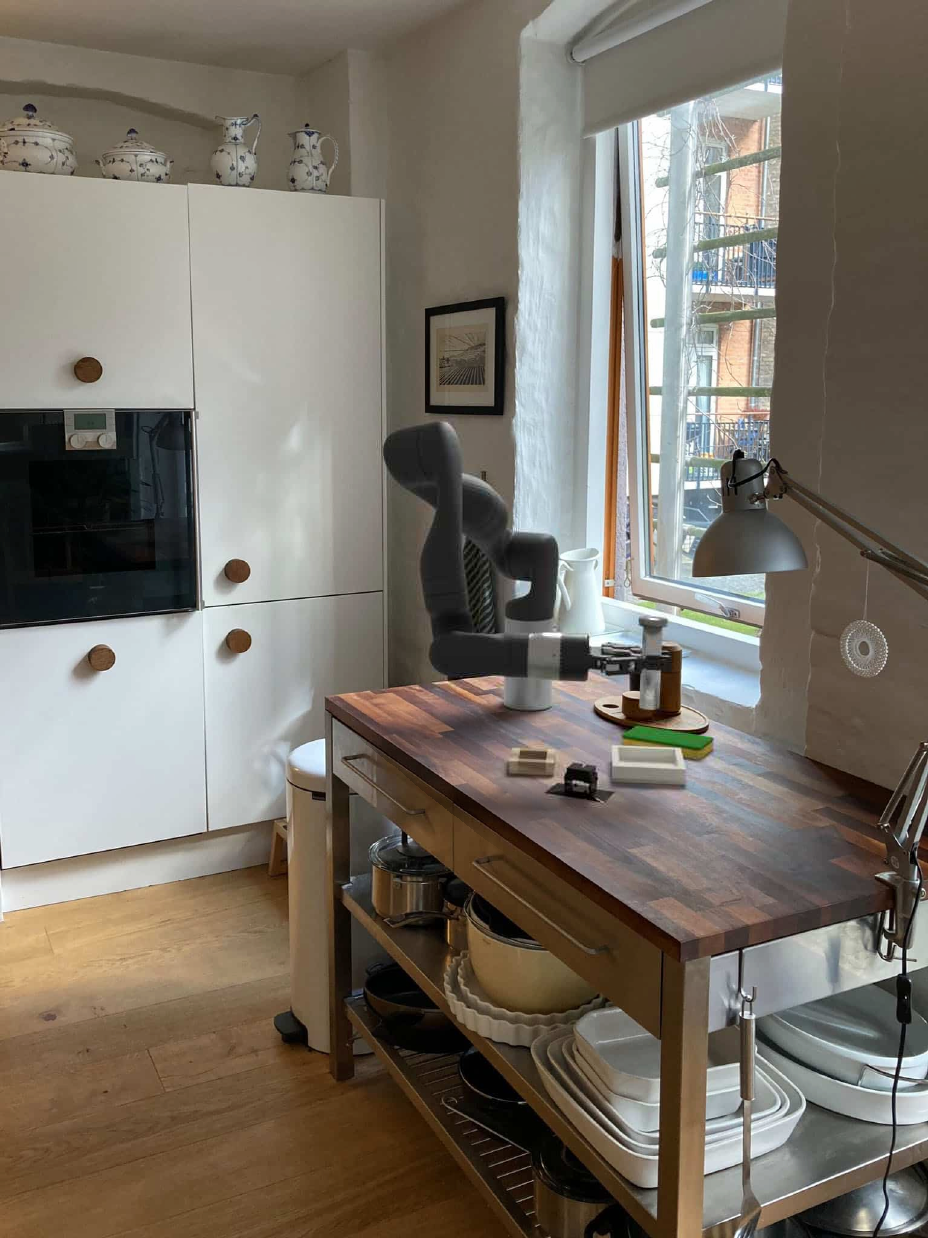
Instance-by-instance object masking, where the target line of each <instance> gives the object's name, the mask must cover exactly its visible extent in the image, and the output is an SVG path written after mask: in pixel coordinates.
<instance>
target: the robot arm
mask: <svg viewBox="0 0 928 1238" xmlns="http://www.w3.org/2000/svg"><path fill="white" fill-rule="evenodd" d="M382 456H383V460H384V463H385V466H386V468H387V470H388V472H389V474H390V475H391V477H392V478H393V479H394V480H395V481H396V483H397V484H399V485H400V486H401V487H402V488H404V489H405V490H407V491H409V492H410V493H411V494H413V495H415V496H416V497H418V498H420V499H421V500H423V501H424V502H425V503H427V504H428V505H429V506H431V507H432V508H433V509H434V510H435V514H434V516H433V519H432V520H433V521H432V523H431V526H430V528H429V531H428V534H427V536H426V539H425V542H424V544H423V548H422V549H421V554H420V561H419V571H420V572H419V576H420V581H421V589H422V596H423V602H424V606H425V609H426V613H427V614H428V616H429V618H430V620H429V621H430V625H431V627H430V628H431V633H432V641H431V643H430V646H429V649H428V659H429V662H430V665H431V666H432V667H433V669H434V670H435V671H437V673H440V674H441V675H443V676H446V677H454V678H455V677H456V678H457V677H458V678H465V677H468V678H469V677H486V676H496V677H503V705H504V706H505V707H507V708H509V709H511V710H512V709H513V710H519V711H540V710H545V709H548V708H550V707H551V706H552V697H553V695H552V694H553V681H555V682H556V681H557V682H560V681H561V682H583V683H585V682H587V681H588V679H589V670H595V671H600V673H601V674H605V676H608V677H613V676H626V675H628V676H629V675H641V674H642V672H644V671H646V670H661V672H662V671H663V672H665V671H667V672H669V671H671V670H672V664H673V663H672V661H673V660H672V656H671V652H670V651H669V650H662V654H661V655H644V654H642V646H640V645H634V644H633V645H632V644H627V643H626V644H623V643H618V642H617V643H616V642H611V641H607V642H604V643H601V645H599V646H590V635H589V634H588V633H585V632H584V633H583V632H581V633H580V632H558V631H557V632H556V631H555V632H554V615H555V614H554V611H555V606H556V601H557V587H558V573H559V564H560V563H559V560H560V559H559V558H560V557H559V555H560V554H559V553H560V551H559V545H558V542H557V540H556V538H555V536H554V535H552V534H551V533H550V534H549V533H541V532H528V531H517V530H513V529H511V528H509V527H508V524H509V519H510V518H509V517H510V516H509V508H508V505H507V504H506V502H505V500H504V499H503V498H502V497H501V495H500V494H499V493H497V491H496V490H495V489H494V488H493V487H492V486H491V485H490V484H488V483H487V482H485V481H484V480H483V479H480V478H478V477H476V476H473V475H470V474H467V473H463V460H462V449H461V444H460V441H459V437H458V435H457V433H456V431H455V429H454V428H453V426H452V425H451V424H450V423H448V422H447V421H444V420H437V421H432V422H431V421H430V422H427V423H422V424H417V425H413V426H408V427H403V428H401V429H397V430H395V431H393V432H392V433H390V434H389V435H388V436H387V437H386V438H385V441H384V444H383V448H382ZM463 536H465V537H466V538H468V539H469V540H470V541H471V542H472V543H473V544H474V545H475V547H477V548H478V549H479V550H480V551H481V552H483V554H484V555H485V556H486V557H487V558H488V559H489V561H490V562H491V564H492V565H493V566H494V567H495V569H496V570H497V571H498V572H499V574H501V575H502V576H503V577H504V578H506V579H508V580H512V581H521V582H530V586H529V587H530V588H529V592H527V593H526V594H525V595H523V596H520V597H517V598H512V599H510V600H508V601H506V603H505V605H504V607H505V608H504V632H499V633H494V634H492V633H491V634H490V633H489V634H488V633H479V632H478V633H475V632H476V631H475V629H474V624H473V619H472V615H471V611H470V605H469V592H468V585H467V578H466V569H465V561H464V553H463Z"/></svg>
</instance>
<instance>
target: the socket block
mask: <svg viewBox="0 0 928 1238" xmlns="http://www.w3.org/2000/svg"><path fill="white" fill-rule="evenodd" d="M556 751H557V749H553V748H552V749H551V748H550V749H549V748H526V747H525V748H524V747H521V748H520V747H512V748H511V753H510V757H509V761H508V762H509V763H508V765H509V766H508V770H509V771H508V773H509V774H518V775H519V774H520V775H541V776H542V775H543V776H544V775H546V776H554V775H555V770H556V769H555V768H556V756H557V753H556Z"/></svg>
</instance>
